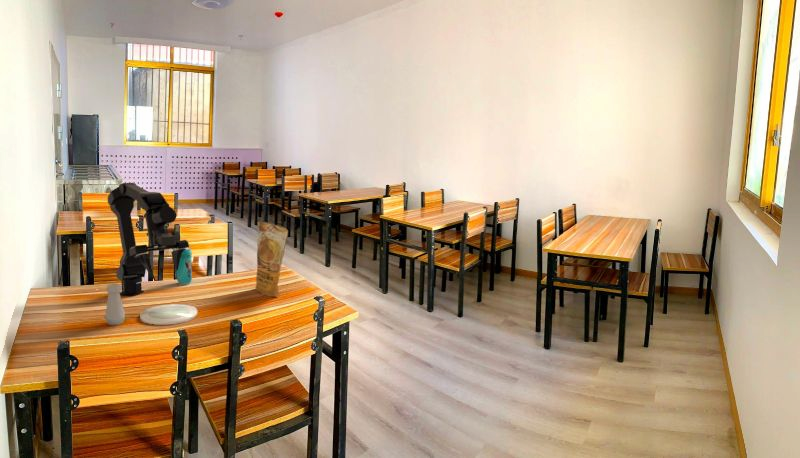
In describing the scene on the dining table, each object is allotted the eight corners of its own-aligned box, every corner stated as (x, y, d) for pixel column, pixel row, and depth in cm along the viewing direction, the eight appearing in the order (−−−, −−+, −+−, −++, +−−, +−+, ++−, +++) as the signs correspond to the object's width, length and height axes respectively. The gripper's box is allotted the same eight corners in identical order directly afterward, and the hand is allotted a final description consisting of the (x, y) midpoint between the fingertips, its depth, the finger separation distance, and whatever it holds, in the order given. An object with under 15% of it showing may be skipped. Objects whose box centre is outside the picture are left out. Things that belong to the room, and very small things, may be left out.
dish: (127, 319, 175) (127, 316, 175) (166, 304, 192) (166, 301, 192) (172, 328, 170) (172, 324, 170) (208, 311, 187) (208, 308, 187)
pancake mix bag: (264, 285, 222) (264, 220, 218) (288, 296, 209) (290, 227, 204) (249, 288, 218) (249, 221, 213) (273, 299, 204) (274, 228, 200)
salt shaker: (129, 322, 174) (128, 283, 171) (115, 327, 168) (113, 288, 166) (116, 319, 175) (114, 281, 173) (101, 324, 170) (99, 285, 168)
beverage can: (186, 285, 216) (186, 250, 214) (174, 284, 217) (173, 248, 215) (194, 282, 222) (194, 247, 219) (182, 281, 223) (181, 246, 220)
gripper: (138, 226, 172) (147, 273, 171) (192, 221, 186) (200, 265, 186) (125, 232, 179) (133, 277, 179) (178, 227, 193) (185, 269, 193)
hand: (164, 272), depth 184 cm, fingers open, 9 cm apart
